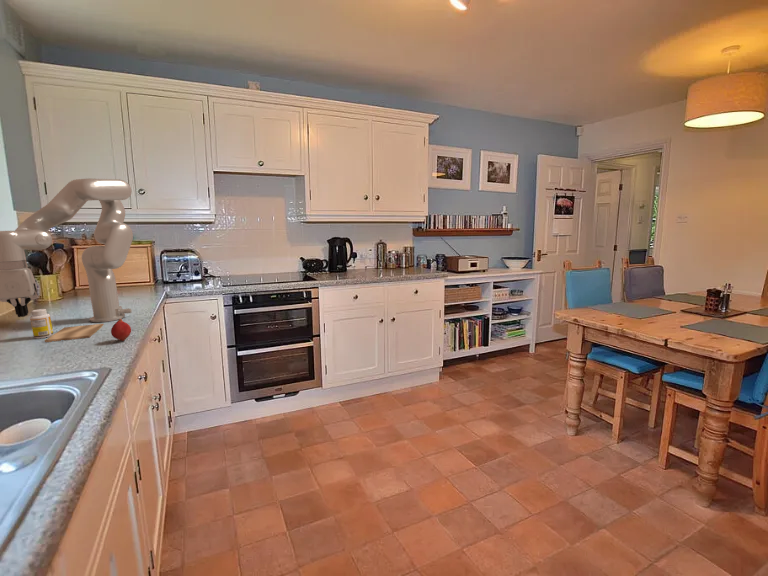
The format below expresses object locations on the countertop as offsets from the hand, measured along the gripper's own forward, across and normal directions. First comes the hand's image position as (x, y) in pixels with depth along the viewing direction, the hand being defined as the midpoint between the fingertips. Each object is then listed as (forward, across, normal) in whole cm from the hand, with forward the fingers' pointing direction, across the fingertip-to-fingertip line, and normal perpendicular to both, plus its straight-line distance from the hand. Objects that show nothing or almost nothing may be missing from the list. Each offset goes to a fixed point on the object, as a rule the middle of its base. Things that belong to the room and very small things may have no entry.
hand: (22, 316), depth 140 cm
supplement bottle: (+9, +5, 0) cm, 10 cm away
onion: (+9, +34, -19) cm, 40 cm away
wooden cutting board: (+8, +15, 0) cm, 17 cm away
